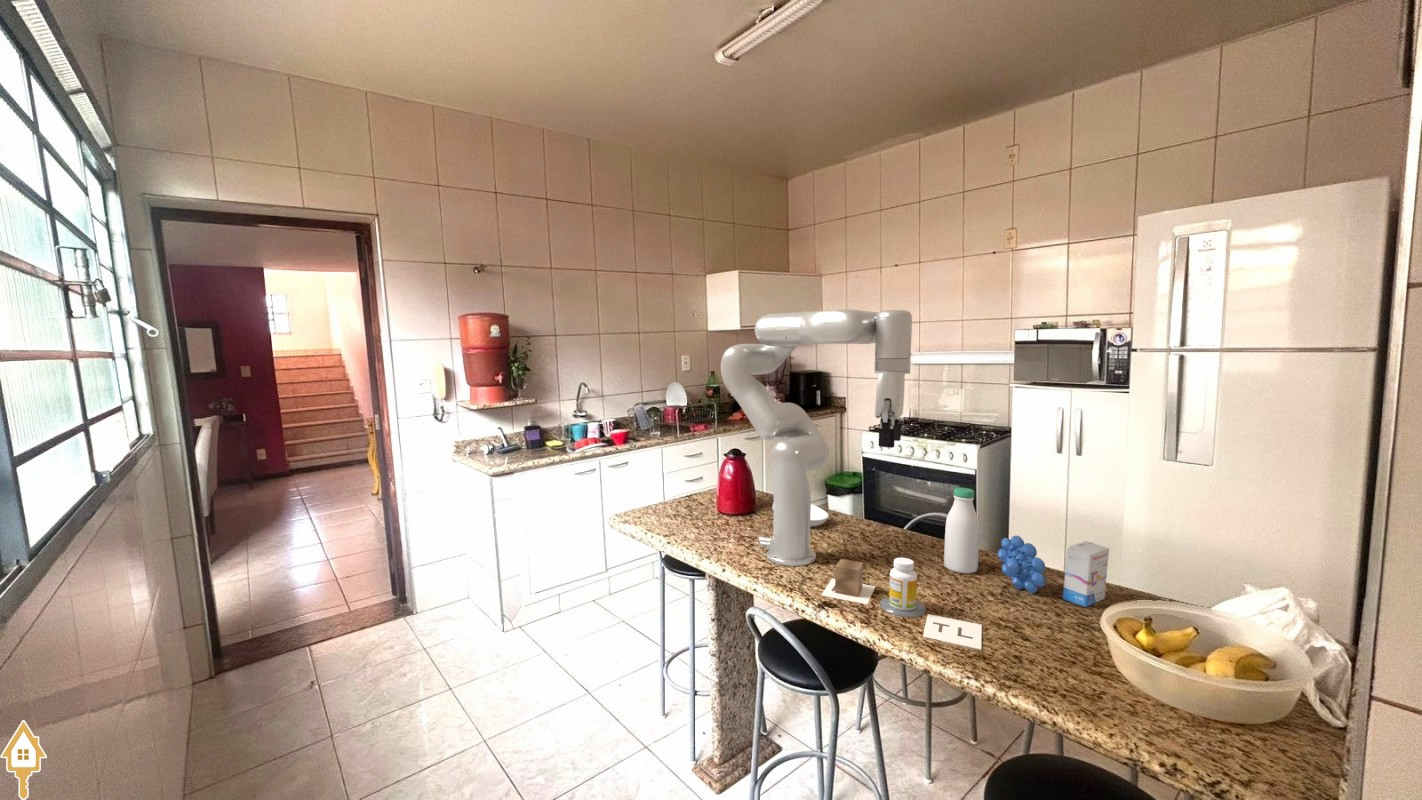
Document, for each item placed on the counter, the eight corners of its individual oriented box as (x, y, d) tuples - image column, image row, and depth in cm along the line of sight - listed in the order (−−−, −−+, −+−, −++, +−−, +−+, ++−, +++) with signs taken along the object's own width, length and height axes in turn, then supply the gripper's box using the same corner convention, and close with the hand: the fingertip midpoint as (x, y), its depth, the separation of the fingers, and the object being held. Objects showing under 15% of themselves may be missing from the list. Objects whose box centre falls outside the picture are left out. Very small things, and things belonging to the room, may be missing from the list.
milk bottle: (981, 575, 136) (985, 494, 134) (947, 572, 137) (950, 492, 135) (973, 563, 143) (976, 486, 141) (940, 561, 145) (944, 484, 143)
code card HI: (820, 596, 124) (820, 594, 124) (832, 579, 133) (832, 578, 133) (867, 605, 120) (867, 604, 120) (875, 587, 129) (875, 586, 129)
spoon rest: (836, 527, 172) (836, 504, 172) (805, 533, 167) (805, 509, 166) (791, 507, 193) (791, 487, 193) (762, 512, 188) (762, 491, 187)
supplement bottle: (913, 601, 121) (915, 557, 120) (917, 612, 115) (919, 566, 115) (887, 598, 122) (889, 555, 121) (890, 610, 117) (891, 564, 116)
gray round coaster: (877, 612, 116) (877, 610, 116) (884, 595, 125) (884, 593, 125) (923, 621, 113) (923, 619, 113) (927, 603, 121) (927, 601, 121)
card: (922, 637, 107) (922, 636, 106) (927, 615, 115) (927, 613, 115) (981, 650, 102) (981, 648, 102) (981, 625, 111) (981, 624, 111)
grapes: (984, 582, 132) (986, 532, 130) (1004, 577, 134) (1006, 528, 133) (1030, 603, 121) (1033, 548, 120) (1051, 597, 124) (1054, 544, 123)
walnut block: (835, 592, 125) (835, 566, 125) (840, 584, 130) (840, 559, 129) (857, 597, 123) (858, 570, 123) (862, 588, 128) (862, 562, 127)
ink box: (1086, 608, 119) (1090, 554, 117) (1061, 599, 123) (1065, 546, 122) (1106, 599, 123) (1110, 546, 122) (1081, 590, 127) (1084, 539, 126)
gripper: (881, 365, 133) (879, 436, 135) (867, 367, 118) (865, 448, 120) (914, 365, 130) (912, 439, 132) (905, 368, 115) (902, 451, 116)
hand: (889, 443), depth 126 cm, fingers open, 9 cm apart
